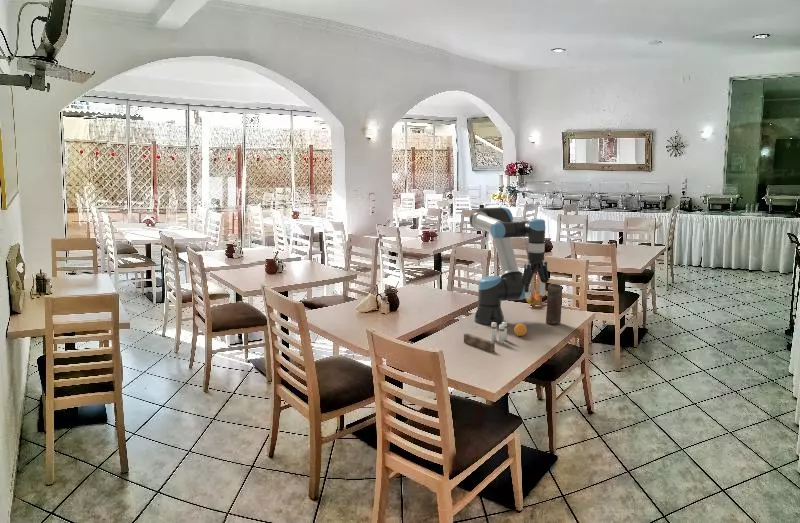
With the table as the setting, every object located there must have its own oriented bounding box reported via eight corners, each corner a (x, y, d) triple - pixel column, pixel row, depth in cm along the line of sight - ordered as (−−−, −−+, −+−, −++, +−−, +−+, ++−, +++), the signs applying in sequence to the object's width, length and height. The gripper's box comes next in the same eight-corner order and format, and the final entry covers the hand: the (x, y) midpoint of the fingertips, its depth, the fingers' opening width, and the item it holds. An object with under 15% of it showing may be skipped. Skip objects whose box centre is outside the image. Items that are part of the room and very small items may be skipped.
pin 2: (497, 343, 274) (498, 325, 272) (500, 341, 276) (500, 324, 274) (502, 344, 272) (503, 326, 271) (505, 342, 274) (505, 325, 273)
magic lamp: (545, 303, 346) (546, 285, 344) (532, 310, 332) (533, 291, 330) (534, 302, 350) (535, 283, 348) (521, 308, 336) (521, 289, 334)
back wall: (463, 342, 276) (463, 334, 275) (466, 341, 277) (467, 333, 276) (491, 352, 261) (491, 343, 260) (494, 351, 262) (494, 342, 262)
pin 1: (490, 340, 278) (490, 323, 276) (492, 339, 280) (492, 321, 278) (495, 341, 276) (495, 323, 275) (497, 340, 278) (497, 322, 277)
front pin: (500, 340, 278) (500, 322, 277) (502, 338, 280) (503, 321, 279) (505, 341, 277) (505, 323, 275) (507, 339, 279) (508, 322, 277)
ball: (511, 336, 284) (512, 324, 283) (516, 333, 289) (517, 321, 288) (523, 338, 281) (524, 326, 280) (528, 335, 286) (528, 323, 284)
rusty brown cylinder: (559, 321, 308) (561, 284, 305) (562, 325, 301) (563, 287, 298) (544, 321, 309) (546, 283, 306) (546, 325, 302) (548, 286, 298)
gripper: (545, 248, 293) (544, 292, 297) (514, 253, 280) (513, 299, 284) (557, 250, 287) (556, 295, 291) (526, 255, 274) (524, 302, 278)
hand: (534, 297), depth 287 cm, fingers open, 10 cm apart
